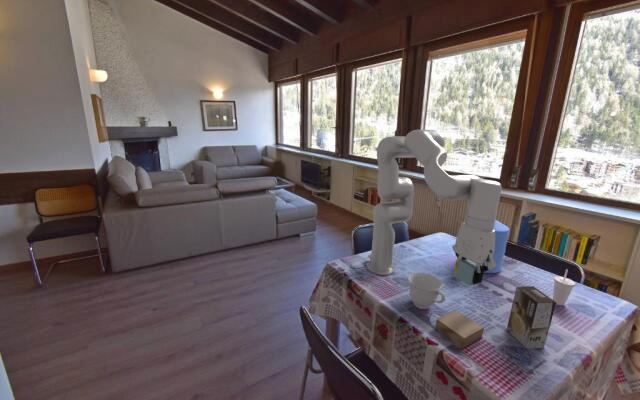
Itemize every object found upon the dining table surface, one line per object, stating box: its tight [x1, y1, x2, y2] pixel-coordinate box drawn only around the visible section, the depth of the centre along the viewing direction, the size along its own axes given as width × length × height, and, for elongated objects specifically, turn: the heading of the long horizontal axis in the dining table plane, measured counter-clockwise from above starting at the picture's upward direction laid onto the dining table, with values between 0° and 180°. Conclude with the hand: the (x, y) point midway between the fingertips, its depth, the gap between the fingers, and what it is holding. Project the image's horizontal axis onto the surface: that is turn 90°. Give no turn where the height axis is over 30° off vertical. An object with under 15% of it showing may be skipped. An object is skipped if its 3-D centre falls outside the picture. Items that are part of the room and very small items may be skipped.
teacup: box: [407, 272, 446, 310], centre depth 106 cm, size 12×15×10 cm
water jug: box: [484, 218, 510, 274], centre depth 137 cm, size 16×16×28 cm
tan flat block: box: [434, 310, 485, 349], centre depth 94 cm, size 10×10×4 cm
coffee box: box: [506, 285, 557, 350], centre depth 91 cm, size 9×6×16 cm
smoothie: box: [552, 268, 576, 306], centre depth 112 cm, size 6×6×14 cm
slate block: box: [455, 259, 482, 287], centre depth 89 cm, size 5×5×6 cm
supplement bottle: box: [453, 258, 459, 278], centre depth 129 cm, size 6×6×10 cm
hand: (468, 277), depth 89 cm, fingers closed on slate block, 5 cm apart
